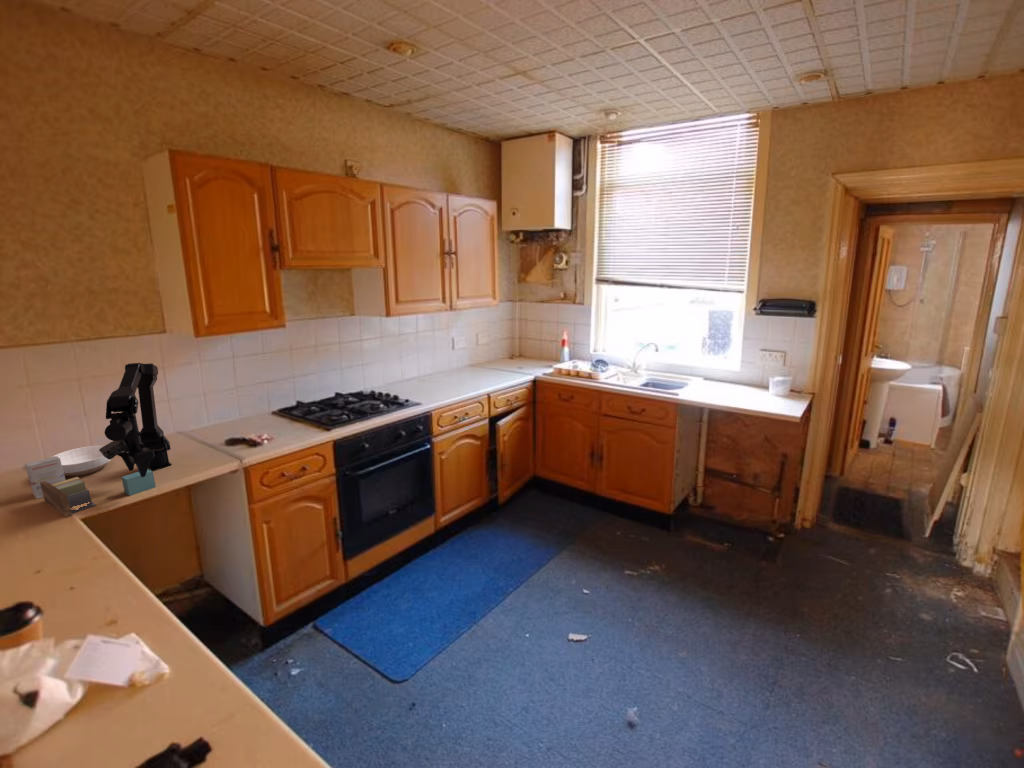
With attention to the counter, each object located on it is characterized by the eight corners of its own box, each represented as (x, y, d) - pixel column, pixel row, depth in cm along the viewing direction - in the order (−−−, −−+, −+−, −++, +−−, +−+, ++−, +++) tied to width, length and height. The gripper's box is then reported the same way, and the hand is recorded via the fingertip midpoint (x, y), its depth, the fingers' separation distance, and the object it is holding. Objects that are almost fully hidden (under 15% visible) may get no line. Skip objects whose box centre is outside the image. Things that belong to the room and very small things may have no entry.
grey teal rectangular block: (150, 484, 189) (147, 468, 187) (155, 487, 187) (152, 471, 185) (124, 493, 182) (121, 477, 181) (129, 496, 180) (126, 479, 179)
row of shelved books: (80, 491, 184) (77, 476, 182) (87, 496, 180) (84, 481, 179) (51, 500, 177) (47, 485, 176) (58, 505, 174) (54, 490, 173)
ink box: (64, 486, 188) (56, 454, 185) (68, 490, 185) (60, 458, 182) (32, 495, 182) (24, 462, 179) (36, 499, 179) (27, 466, 176)
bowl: (103, 477, 195) (99, 461, 193) (39, 484, 190) (34, 468, 188) (124, 457, 213) (121, 443, 212) (66, 463, 208) (62, 448, 206)
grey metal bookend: (91, 501, 176) (88, 489, 175) (96, 505, 174) (93, 492, 173) (64, 510, 171) (61, 497, 170) (70, 514, 168) (67, 501, 167)
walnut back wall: (50, 500, 178) (45, 480, 176) (71, 515, 167) (66, 495, 166) (44, 501, 177) (39, 482, 175) (66, 517, 166) (60, 496, 164)
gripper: (88, 432, 178) (98, 475, 182) (111, 443, 167) (121, 489, 171) (126, 423, 187) (135, 464, 191) (151, 433, 176) (159, 476, 180)
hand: (137, 473), depth 183 cm, fingers open, 9 cm apart
